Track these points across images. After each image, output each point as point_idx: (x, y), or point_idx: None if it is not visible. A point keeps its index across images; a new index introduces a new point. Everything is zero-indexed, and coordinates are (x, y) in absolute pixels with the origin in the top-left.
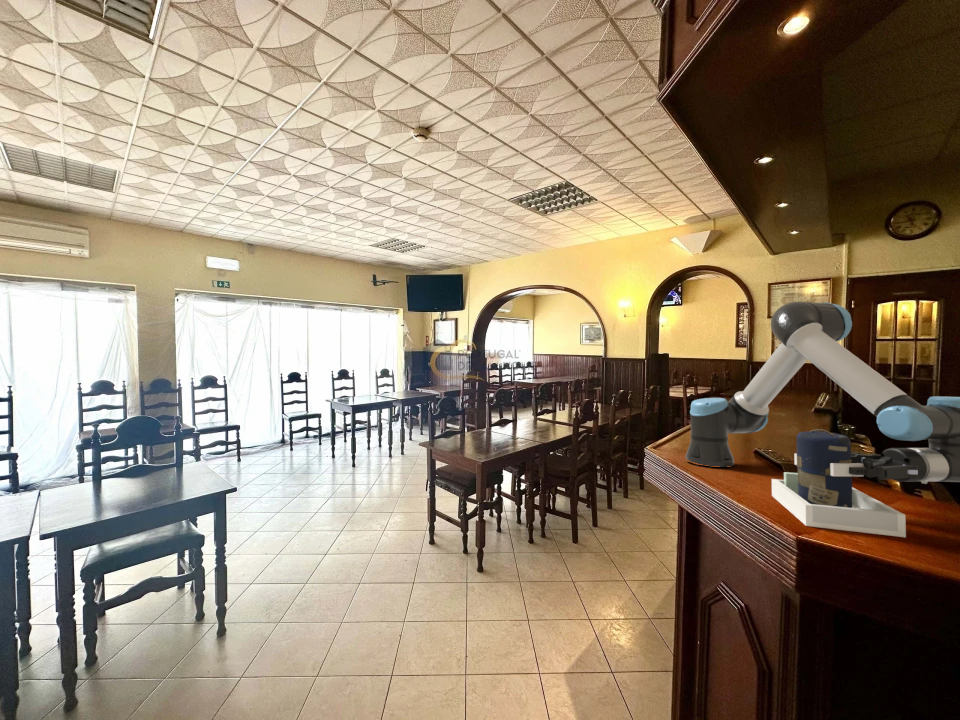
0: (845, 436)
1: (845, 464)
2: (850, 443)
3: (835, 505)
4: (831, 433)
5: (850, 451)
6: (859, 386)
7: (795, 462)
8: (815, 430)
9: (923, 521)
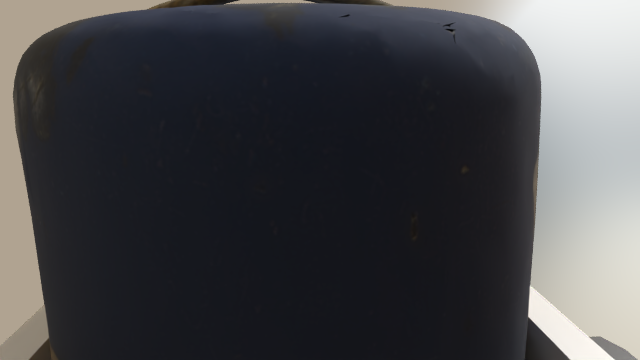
0: (84, 20)
1: (37, 314)
2: (22, 125)
3: None
4: (169, 4)
5: (42, 248)
6: None
7: None
8: (353, 2)
9: None
